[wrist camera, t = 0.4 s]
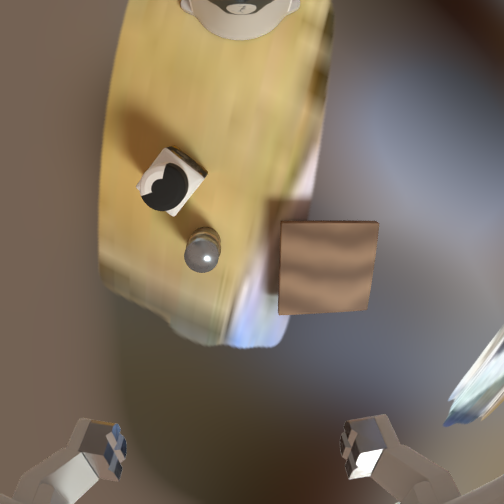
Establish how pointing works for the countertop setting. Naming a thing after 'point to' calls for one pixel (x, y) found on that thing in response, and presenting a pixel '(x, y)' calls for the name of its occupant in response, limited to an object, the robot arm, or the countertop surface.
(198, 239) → the grey metal cylinder
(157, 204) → the medicine bottle
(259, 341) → the countertop surface
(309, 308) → the walnut stand
